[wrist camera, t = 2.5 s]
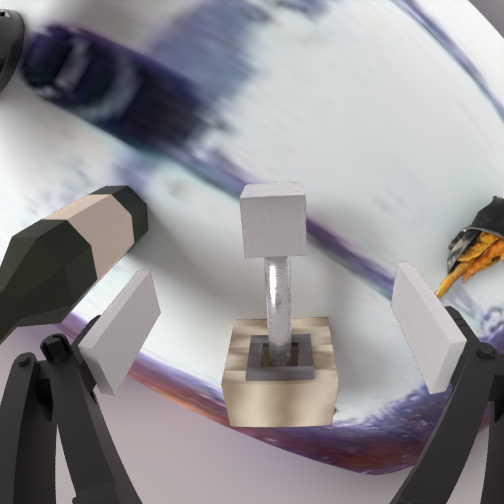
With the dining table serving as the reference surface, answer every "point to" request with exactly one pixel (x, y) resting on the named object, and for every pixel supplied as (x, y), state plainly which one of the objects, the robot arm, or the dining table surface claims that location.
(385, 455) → the dining table surface
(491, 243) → the fried shrimp in bowl
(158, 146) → the dining table surface
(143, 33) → the dining table surface
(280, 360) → the pull pin
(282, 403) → the eye block
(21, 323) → the wine bottle
